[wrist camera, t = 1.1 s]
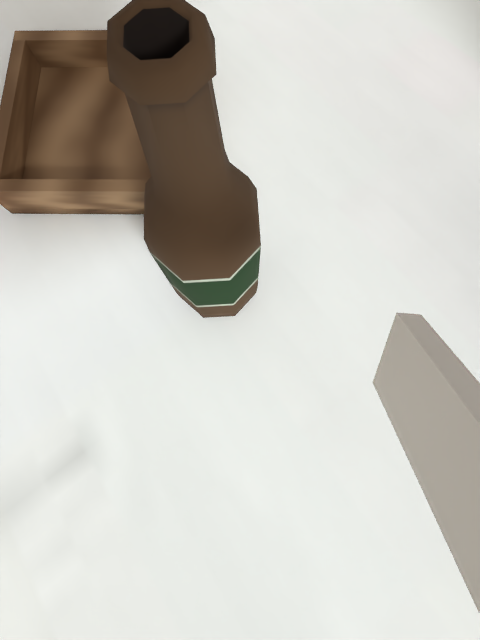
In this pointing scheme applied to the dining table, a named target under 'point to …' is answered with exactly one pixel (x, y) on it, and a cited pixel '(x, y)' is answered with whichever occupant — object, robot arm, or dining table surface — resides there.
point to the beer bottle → (186, 156)
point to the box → (67, 129)
